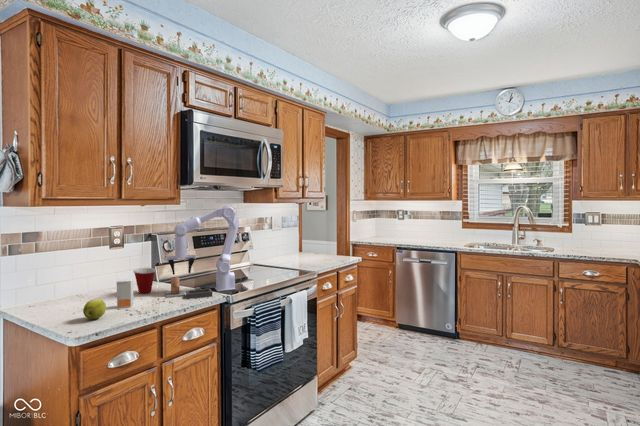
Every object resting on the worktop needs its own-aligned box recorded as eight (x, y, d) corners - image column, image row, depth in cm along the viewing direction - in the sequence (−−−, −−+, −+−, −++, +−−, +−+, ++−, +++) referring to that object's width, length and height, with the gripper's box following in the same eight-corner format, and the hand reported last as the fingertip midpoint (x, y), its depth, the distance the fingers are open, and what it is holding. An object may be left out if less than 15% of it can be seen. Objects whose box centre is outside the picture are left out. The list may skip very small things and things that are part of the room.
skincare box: (116, 308, 182) (116, 281, 182) (119, 305, 187) (118, 279, 186) (131, 307, 184) (130, 280, 183) (133, 304, 188) (133, 279, 187)
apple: (110, 315, 172) (109, 296, 171) (99, 322, 162) (98, 302, 162) (91, 315, 171) (90, 296, 171) (79, 322, 162) (78, 302, 162)
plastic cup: (141, 296, 204) (141, 272, 203) (129, 293, 210) (128, 270, 210) (161, 291, 213) (160, 268, 212) (148, 289, 219) (148, 266, 219)
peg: (178, 292, 209) (178, 276, 209) (180, 294, 205) (180, 278, 205) (170, 293, 207) (170, 277, 207) (171, 294, 203) (171, 278, 203)
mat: (183, 292, 212) (183, 290, 212) (185, 295, 204) (185, 294, 204) (165, 293, 208) (165, 292, 208) (166, 297, 200) (166, 296, 200)
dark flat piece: (209, 292, 211) (209, 286, 211) (212, 296, 203) (212, 290, 203) (185, 295, 206) (185, 288, 206) (187, 299, 198) (187, 292, 198)
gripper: (166, 249, 203) (167, 276, 204) (196, 247, 209) (197, 273, 210) (165, 247, 209) (166, 274, 210) (194, 245, 216) (195, 271, 216)
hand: (181, 273), depth 210 cm, fingers open, 7 cm apart
